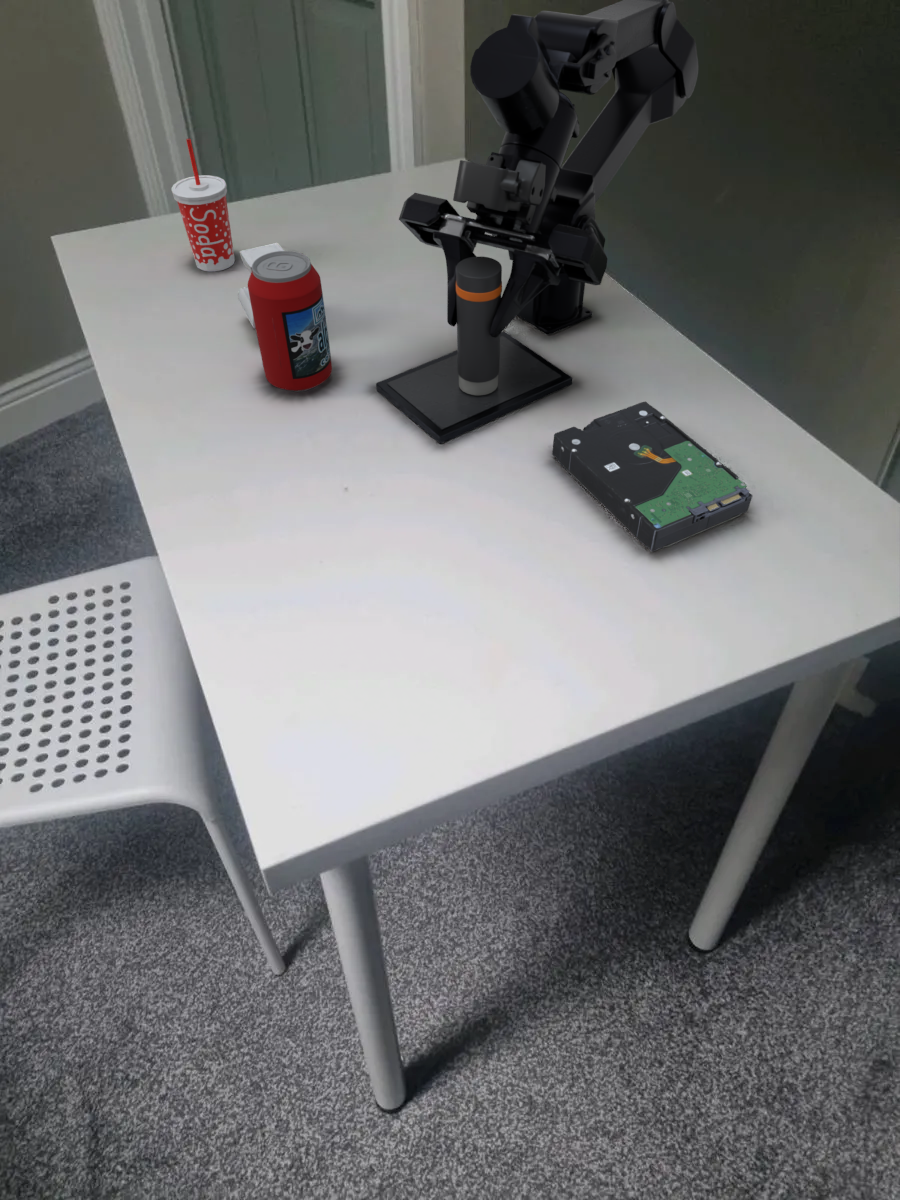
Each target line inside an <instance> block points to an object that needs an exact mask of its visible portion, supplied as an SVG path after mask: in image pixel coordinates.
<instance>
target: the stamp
mask: <svg viewBox="0 0 900 1200" xmlns="http://www.w3.org/2000/svg"><path fill="white" fill-rule="evenodd" d="M276 251H285V250H284V248H283V247H282V246H281V245H280V244H279V243H278V242H274V243H269V244H265V245H260V246H256V247H251V248H247V249H242V250H239V255H240V258H241V261H242V263H243V265H244V266H245V267H246V269H247V270H248V271H249V273H250V274H251V272H252V264H253V262H254V261H255V260H256V259H257V258H259V257H261V256H263V255H265V254H268V253H271V252H276ZM237 300H238V302H239V304H240V306H241V307H242V310H243V311H244V313H245V316H246V317H247V319H248V321H249V322H250V325H251V327H252V328H253V329H254V330H255V331H256V328H255V322H254V317H253V312H252V307H251V302H250V296H249V291H248V286H244V287H241V288H239V289H238V292H237Z"/></svg>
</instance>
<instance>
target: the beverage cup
mask: <svg viewBox="0 0 900 1200" xmlns="http://www.w3.org/2000/svg"><path fill="white" fill-rule="evenodd" d="M185 140H186V145H187V149H188V154H189V158H190V163H191V167H192V172H193V176H189V177H186V178H182V179H179V180H177V182H175V183H173V184H172V187H171V189H170V191H171V193H172V197H173V199H174V201H176V203H177V205H178V209H179V212H180V216H181V219H182V222H183V226H184V228H185V232H186V236H187V238H188V242H189V245H190V249H191V251H192V254H193V259H194V262H195V265H196V267H197V269H198V270H200V271H205V272H219V271H223V270H226V269H228V268H231V267H232V266H233V265H234V264H235V260H236V258H235V252H234V244H233V243H234V242H233V237H232V230H231V223H230V215H229V208H228V201H227V193H228V189H227V182H226V181H225V179H223V178H221V177H220V176H216V175H211V174H210V175H209V174H207V175H204V174H203V175H202V174H201V175H199V171H198V166H197V162H196V157H195V152H194V147H193V143H192V139H191V138H190V137H189V138H186V139H185Z"/></svg>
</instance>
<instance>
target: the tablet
mask: <svg viewBox="0 0 900 1200" xmlns="http://www.w3.org/2000/svg"><path fill="white" fill-rule="evenodd" d="M572 385H573V377H572V376H571V375H569V374H568V373H566V372H565V371H563V369H560V368H559V367H558V366H556V365H554V364H553V363H552V362H550V361H549V360H548V359H546V358H544V357H542V356H541V354H538V353H537V352H535V351H534V350H532V348H529V346H527V345H525V344H524V343H522V342H520V341H519V340H518V339H516V338H515V337H513V336H512V335H511V334H509V333H508V332H506V331H504V330H503V331H502V332H501V333H500V361H499V374H498V386H497V388H496V390H494V391H493V392H491V393H489V394H486V395H470V394H467V393H465V392H463V391H462V390H461V389H460V387H459V374H458V361H457V350H454V351H452V352H450V353H447V354H443V355H442V356H439V357H437V358H435V359H432V360H429V361H427V362H425V363H422V364H420V365H418V366H415V367H412V368H410V369H407V370H405V371H403V372H400V373H398V374H395V375H393V376H390V377H388V378H386V379H382V380H380V381H378V382H376V383H375V388H376V389H375V390H376V391H377V392H378V393H380V394H381V396H383V397H384V398H385V399H387V400H388V401H389V402H390V403H391V404H392V405H393V406H395V407H396V408H397V409H398V410H400V412H402V413H403V414H404V415H406V417H408V419H410V420H411V421H412V422H414V423H415V424H416V425H417V426H418V427H419V428H421V430H423V431H424V432H426V434H428V435H429V436H430V437H431V438H433V439H434V441H436V442H437V443H438V444H440V445H441V444H444V443H446V442H448V441H450V440H453V439H455V438H457V437H460V436H461V435H464V434H466V433H468V432H470V431H473V430H475V429H476V428H477V429H478V428H479V427H481V426H483V425H486V424H488V423H490V422H492V421H495V420H497V419H500V418H501V417H503V416H505V415H508V414H510V413H512V412H515V411H516V410H519V409H521V408H523V407H525V406H528V405H529V404H533V403H534V402H536V401H538V400H541V399H543V398H545V397H547V396H549V395H552V394H554V393H556V392H559V391H561V390H563V389H565V388H567V387H569V386H572Z"/></svg>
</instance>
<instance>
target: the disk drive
mask: <svg viewBox="0 0 900 1200" xmlns="http://www.w3.org/2000/svg"><path fill="white" fill-rule="evenodd" d="M552 440H553V442H552V453H551V455H552V456H553V457H554V458H556V461H557V462H558V463H559V464H560V465H561V466H562V467H563V468H564V469H565V470H566V471H567V472H568V473H569V474H570V475H571V476H572V477H573V478H575V480H576V481H577V482H578V483H580V485H581V486H583V487H584V489H586V491H587V492H589V494H591V495H592V496H593V497H594V498H595V499H596V500H597V501H598V502H599V503H601V504H602V505H603V506H604V507H605V509H606V510H607V511H608V512H609V513H610V514H611V515H612V517H614V518H615V519H616V520H617V521H618V522H619V523H621V525H622V526H624V527H625V528H626V529H627V531H629V532H630V534H631V535H633V537H635V538H636V539H637V540H638V541H639V542H640V543H641V544H642V545H644V547H646V548H648V549H649V551H650V552H656V551H657V550H659V549H663V548H667V547H669V546H672V545H674V544H677V543H678V542H679V543H680V542H682V541H683V540H685V539H688V538H691V537H692V536H695V535H698V534H700V533H702V532H704V531H707V530H709V529H711V528H714V527H717V526H719V525H721V524H724V523H725V522H728V521H730V520H732V519H735V518H737V517H739V516H741V515H742V514H744V513H747V512H748V511H749V507H750V505H751V503H752V502H751V501H752V498H753V494H752V493H751V492H750V490H749V489H747V488H748V485H747V484H746V483H744V482H743V481H742V480H741V479H740V477H739V476H738V474H736V473H735V472H734V471H732V469H730V468H729V467H727V466H725V464H723V463H722V462H720V461H719V460H718V458H716V457H715V456H714V455H713V454H712V453H710V452H709V451H708V450H707V449H705V448H704V447H702V445H700V444H699V443H698V442H697V441H696V440H694V439H693V438H691V437H690V436H689V435H688V434H687V433H685V432H684V431H683V430H682V429H681V428H680V427H678V426H677V425H676V424H674V422H672V421H671V420H670V419H669V418H667V417H666V416H665V415H664V414H663V413H661V411H659V410H658V409H656V408H655V407H654V406H652V405H651V404H649V402H647V401H641V402H639V403H635V404H634V405H630V406H628V407H626V408H623V409H620V410H617V411H614V412H611V413H608V414H605V415H603V416H600V417H599V416H598V417H596V418H594V419H593V420H592V421H590V423H588V424H587V425H586V426H584V427H583V428H582V429H581V428H578V427H576V426H572V427H569V428H566V429H563V430H561V431H558V432H555V433H554V434H553V439H552Z"/></svg>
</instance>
